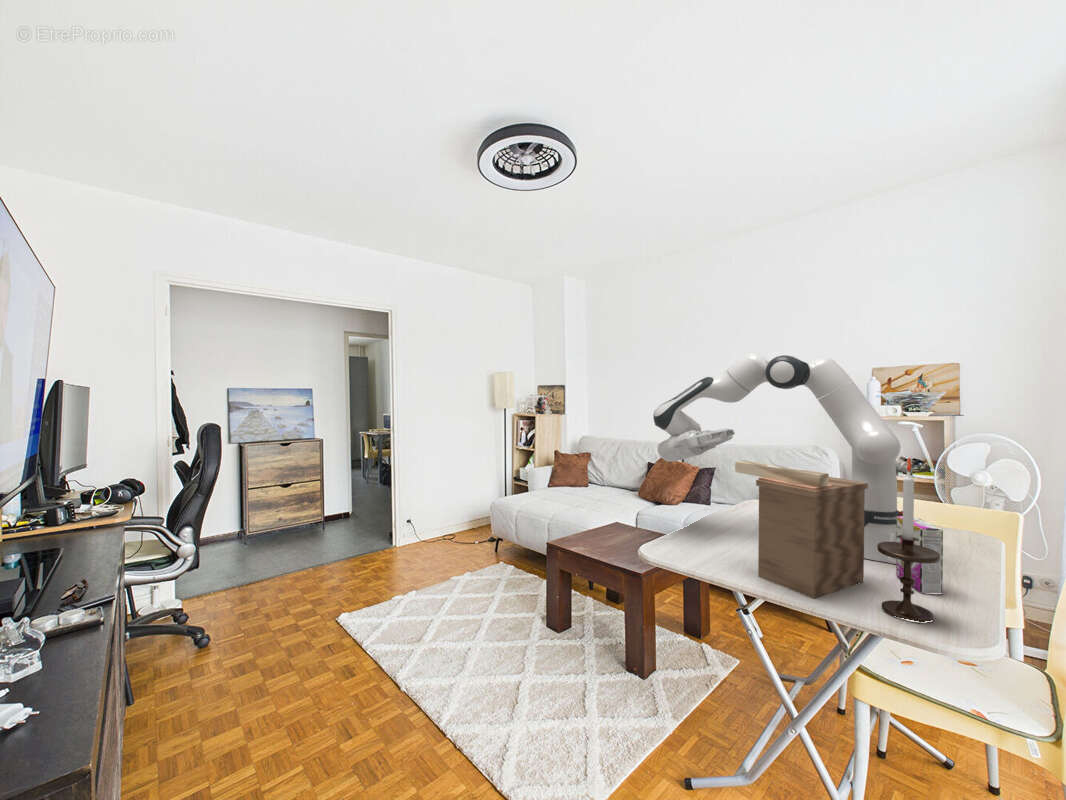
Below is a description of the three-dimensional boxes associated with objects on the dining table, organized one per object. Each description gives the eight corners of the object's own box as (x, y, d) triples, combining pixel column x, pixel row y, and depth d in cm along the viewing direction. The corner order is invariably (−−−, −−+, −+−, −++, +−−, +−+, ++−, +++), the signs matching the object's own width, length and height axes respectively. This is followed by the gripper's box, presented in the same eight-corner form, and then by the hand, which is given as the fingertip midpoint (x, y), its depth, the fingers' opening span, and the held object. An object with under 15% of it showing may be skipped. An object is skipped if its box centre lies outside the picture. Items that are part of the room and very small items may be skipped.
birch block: (744, 470, 136) (744, 460, 136) (828, 485, 114) (828, 473, 114) (735, 471, 134) (735, 461, 134) (818, 487, 112) (818, 474, 112)
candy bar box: (894, 576, 125) (895, 515, 124) (915, 577, 124) (916, 516, 123) (920, 594, 114) (921, 527, 113) (943, 595, 113) (944, 528, 112)
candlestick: (885, 598, 111) (887, 453, 111) (944, 615, 103) (947, 458, 102) (869, 611, 105) (871, 457, 104) (931, 631, 96) (933, 463, 95)
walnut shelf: (806, 562, 135) (807, 471, 134) (866, 582, 120) (867, 481, 120) (755, 576, 125) (756, 478, 124) (814, 600, 111) (815, 489, 110)
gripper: (667, 439, 158) (696, 429, 146) (710, 430, 168) (740, 420, 156) (673, 457, 157) (702, 448, 145) (716, 447, 166) (747, 438, 154)
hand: (722, 434), depth 150 cm, fingers open, 8 cm apart
